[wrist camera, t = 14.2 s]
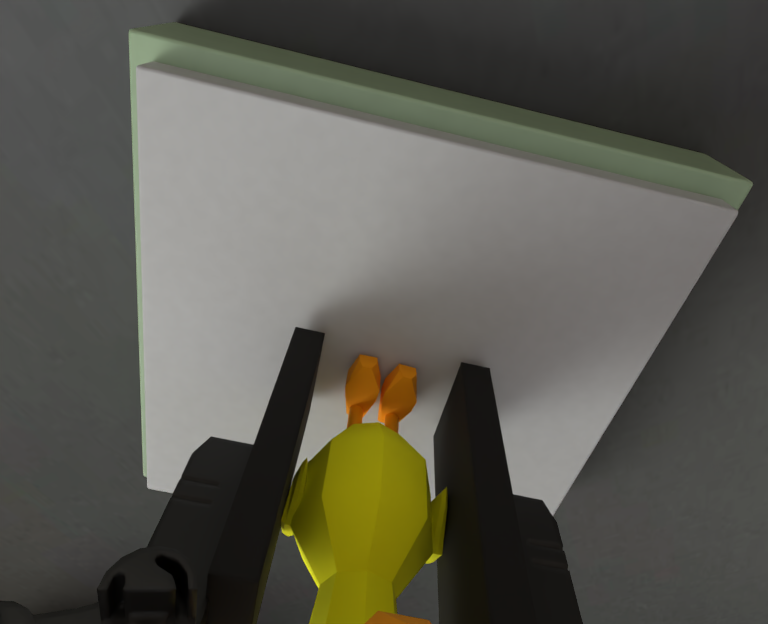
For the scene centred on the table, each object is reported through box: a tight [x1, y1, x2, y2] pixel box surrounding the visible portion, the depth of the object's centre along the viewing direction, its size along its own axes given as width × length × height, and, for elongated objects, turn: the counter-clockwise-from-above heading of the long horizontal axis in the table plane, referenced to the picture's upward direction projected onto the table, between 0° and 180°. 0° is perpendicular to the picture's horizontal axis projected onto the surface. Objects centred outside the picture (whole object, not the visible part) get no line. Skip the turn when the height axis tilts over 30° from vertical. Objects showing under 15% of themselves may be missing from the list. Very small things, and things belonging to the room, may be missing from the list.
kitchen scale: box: [129, 22, 753, 516], centre depth 16 cm, size 14×15×3 cm
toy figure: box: [281, 354, 447, 624], centre depth 9 cm, size 7×4×12 cm, turn 165°
